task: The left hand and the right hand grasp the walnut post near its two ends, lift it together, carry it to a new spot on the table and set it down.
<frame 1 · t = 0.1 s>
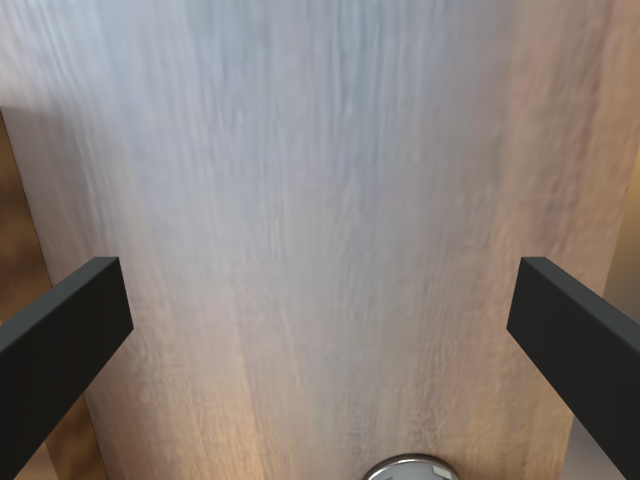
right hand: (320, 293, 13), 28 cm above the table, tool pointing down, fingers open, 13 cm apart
post: (54, 360, 48), on the table
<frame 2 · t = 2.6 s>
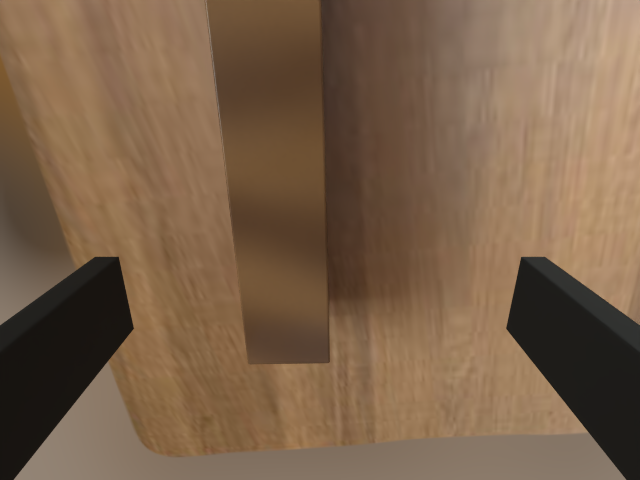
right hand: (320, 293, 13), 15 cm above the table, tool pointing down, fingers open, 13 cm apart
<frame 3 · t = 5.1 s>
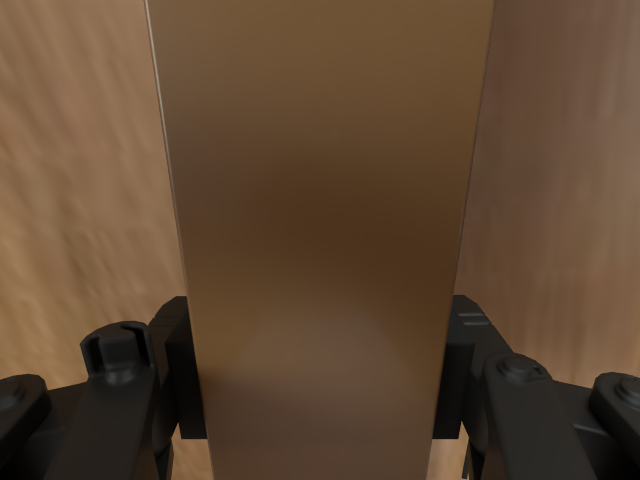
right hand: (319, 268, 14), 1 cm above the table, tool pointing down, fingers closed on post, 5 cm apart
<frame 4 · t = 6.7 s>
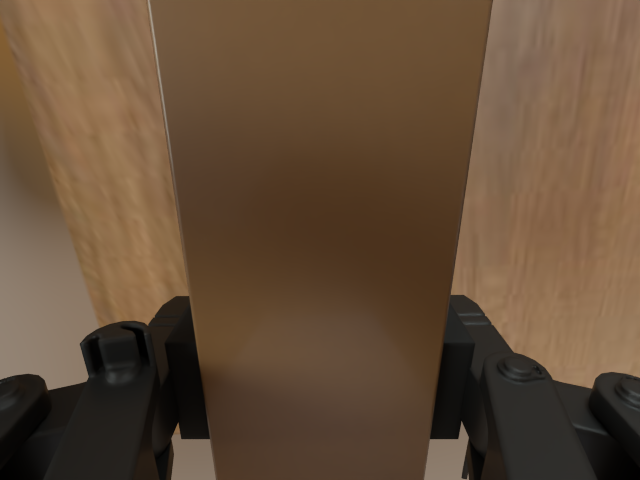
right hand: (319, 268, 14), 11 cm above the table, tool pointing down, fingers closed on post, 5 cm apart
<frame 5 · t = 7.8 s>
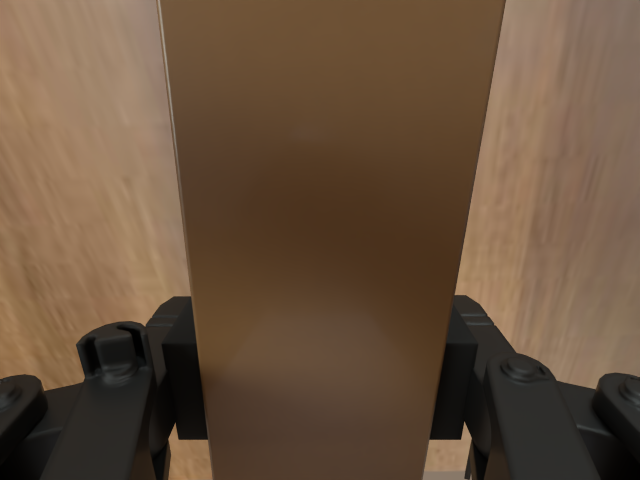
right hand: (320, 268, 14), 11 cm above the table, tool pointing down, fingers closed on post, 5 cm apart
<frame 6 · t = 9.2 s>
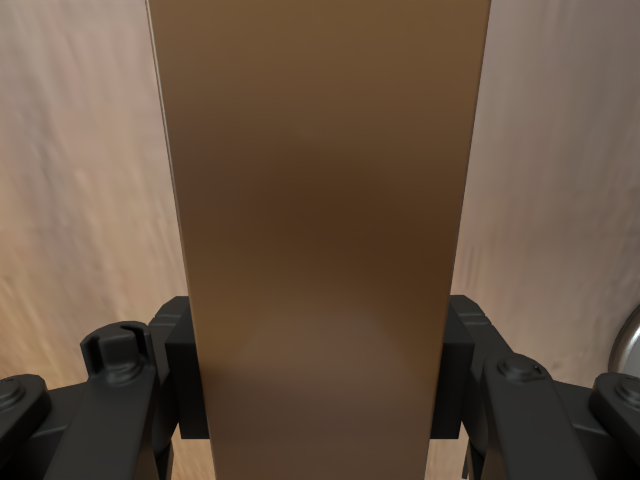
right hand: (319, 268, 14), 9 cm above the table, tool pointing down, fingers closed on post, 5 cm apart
when the right hand's fingers open (2 cm above the table, at t = 10.4 s): post drops 1 cm, on the table.
when the left hand's fingers open (4 cm above the table, at t = 10.6 s): post stays where it is, on the table.
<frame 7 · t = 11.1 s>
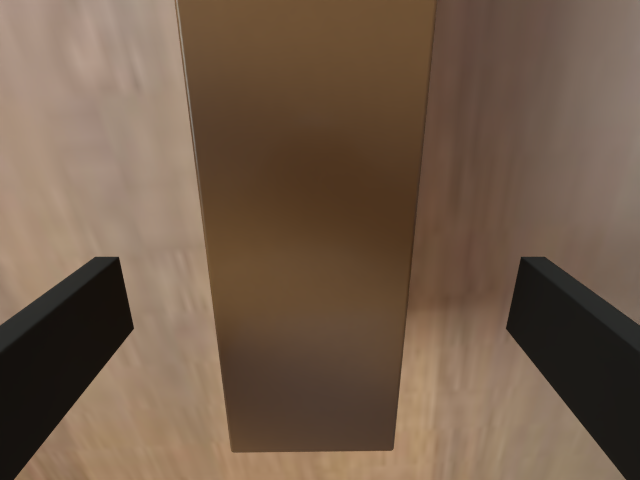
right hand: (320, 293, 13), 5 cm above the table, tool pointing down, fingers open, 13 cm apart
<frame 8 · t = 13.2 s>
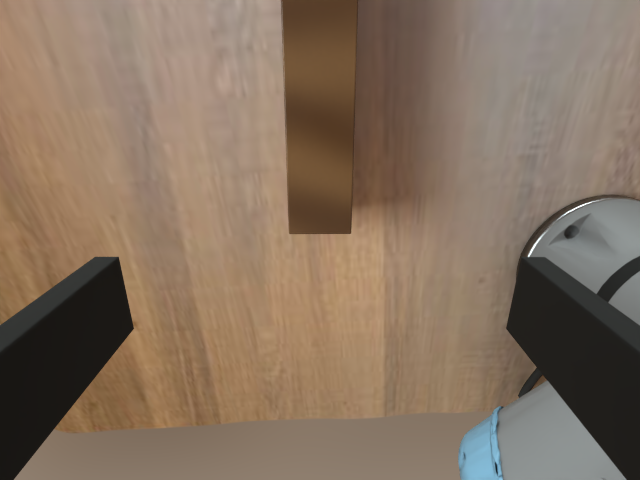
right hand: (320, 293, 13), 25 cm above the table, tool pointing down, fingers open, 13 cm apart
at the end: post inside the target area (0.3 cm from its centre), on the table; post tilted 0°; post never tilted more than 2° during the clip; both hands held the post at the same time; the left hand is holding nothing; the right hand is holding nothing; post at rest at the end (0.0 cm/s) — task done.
